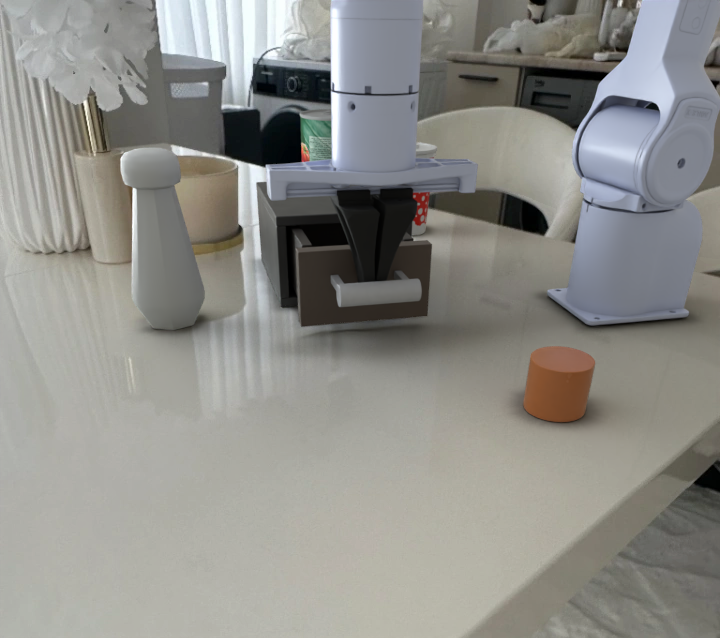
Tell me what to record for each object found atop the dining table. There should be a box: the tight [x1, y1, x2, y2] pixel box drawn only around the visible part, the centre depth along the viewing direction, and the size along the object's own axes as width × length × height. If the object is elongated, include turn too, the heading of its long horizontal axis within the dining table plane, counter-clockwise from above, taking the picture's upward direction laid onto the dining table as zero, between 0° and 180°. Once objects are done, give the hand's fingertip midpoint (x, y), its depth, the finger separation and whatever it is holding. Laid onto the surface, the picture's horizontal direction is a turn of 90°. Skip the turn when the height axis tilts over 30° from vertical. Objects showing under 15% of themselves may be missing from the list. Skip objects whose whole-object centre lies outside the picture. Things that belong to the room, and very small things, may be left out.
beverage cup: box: [412, 141, 438, 237], centre depth 79 cm, size 6×6×14 cm
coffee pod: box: [522, 345, 596, 423], centre depth 46 cm, size 4×4×4 cm
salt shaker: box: [120, 147, 206, 331], centre depth 55 cm, size 6×6×13 cm
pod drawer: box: [286, 223, 433, 328], centre depth 58 cm, size 17×10×6 cm, turn 14°
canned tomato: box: [299, 108, 332, 162], centre depth 88 cm, size 8×8×11 cm
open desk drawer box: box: [255, 181, 413, 308], centre depth 66 cm, size 14×12×8 cm
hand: (370, 295), depth 54 cm, fingers closed, pressing on pod drawer
